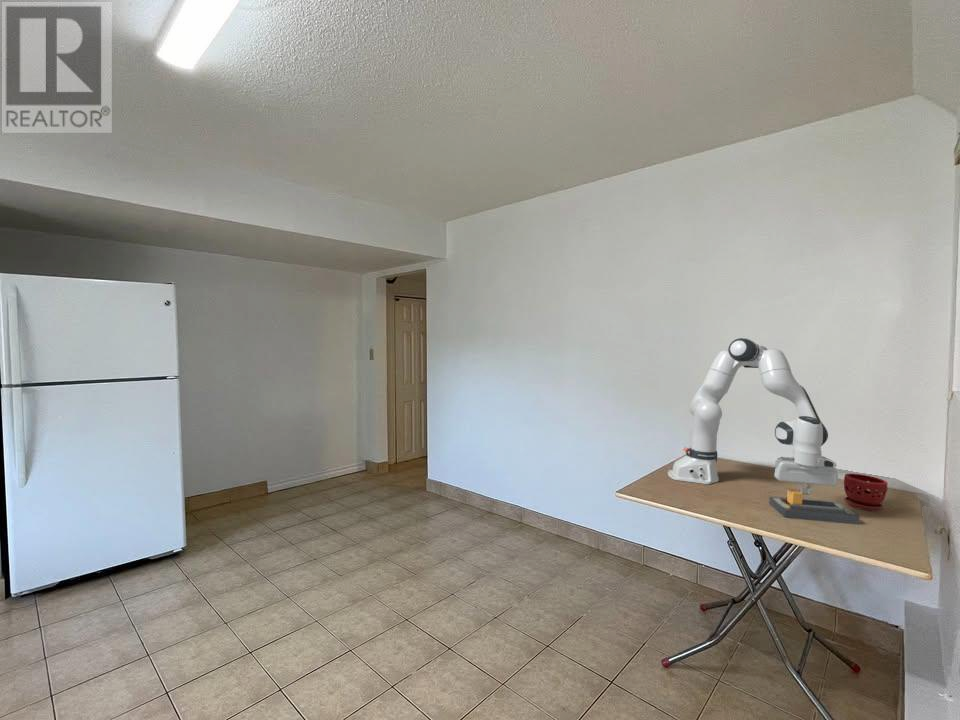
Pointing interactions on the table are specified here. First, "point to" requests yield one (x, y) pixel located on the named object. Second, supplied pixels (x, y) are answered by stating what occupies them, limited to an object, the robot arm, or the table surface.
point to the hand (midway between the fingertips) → (804, 493)
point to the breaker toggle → (794, 496)
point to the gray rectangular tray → (814, 510)
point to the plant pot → (864, 491)
